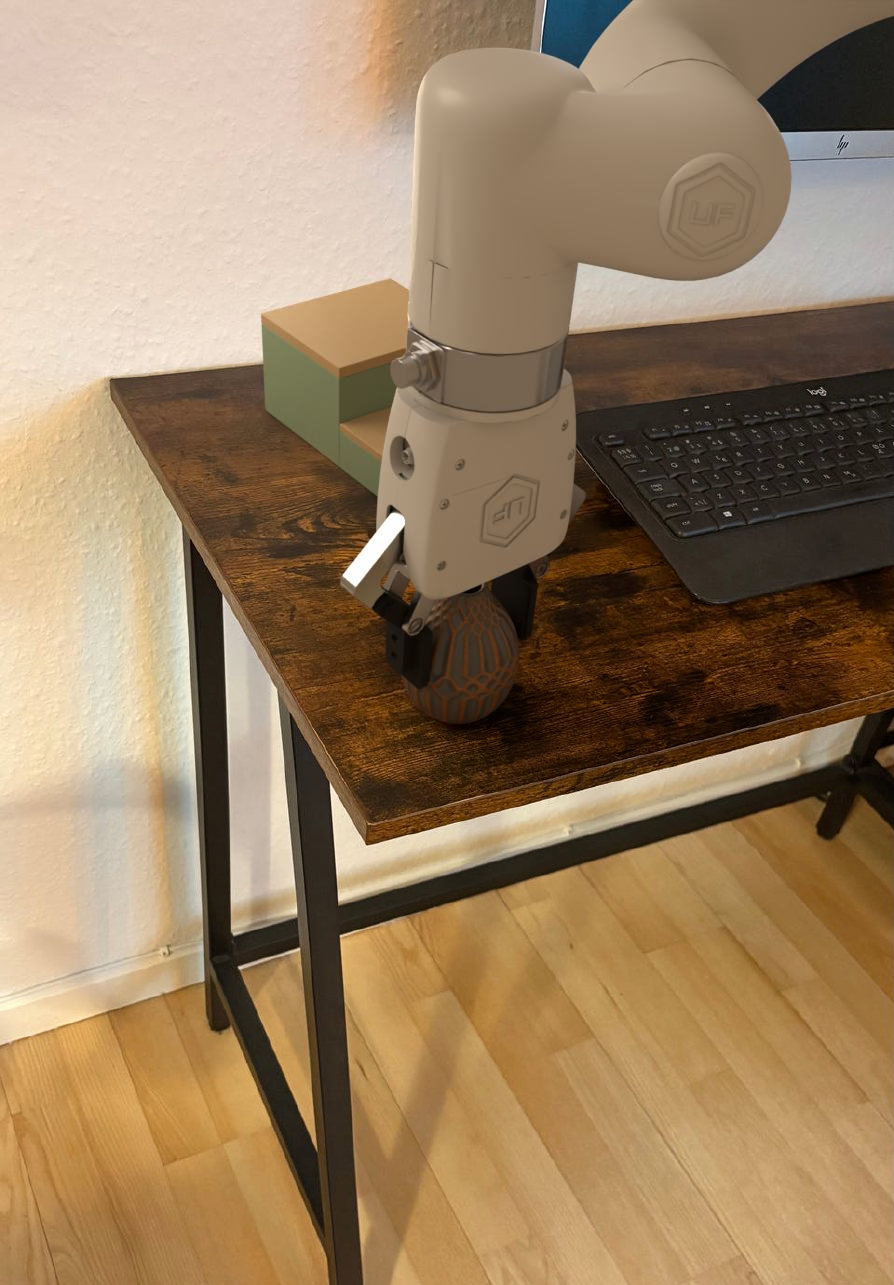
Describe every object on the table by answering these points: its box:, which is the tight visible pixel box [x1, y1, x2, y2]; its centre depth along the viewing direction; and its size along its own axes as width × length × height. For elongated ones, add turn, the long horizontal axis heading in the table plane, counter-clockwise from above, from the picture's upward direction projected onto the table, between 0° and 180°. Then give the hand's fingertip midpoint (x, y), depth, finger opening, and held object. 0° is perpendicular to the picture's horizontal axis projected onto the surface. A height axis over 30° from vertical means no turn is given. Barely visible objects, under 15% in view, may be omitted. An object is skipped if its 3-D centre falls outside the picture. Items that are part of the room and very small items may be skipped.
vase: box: [400, 581, 520, 725], centre depth 71 cm, size 7×7×9 cm
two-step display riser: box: [260, 278, 409, 498], centre depth 91 cm, size 19×12×8 cm, turn 39°
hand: (459, 648), depth 71 cm, fingers closed on vase, 6 cm apart
